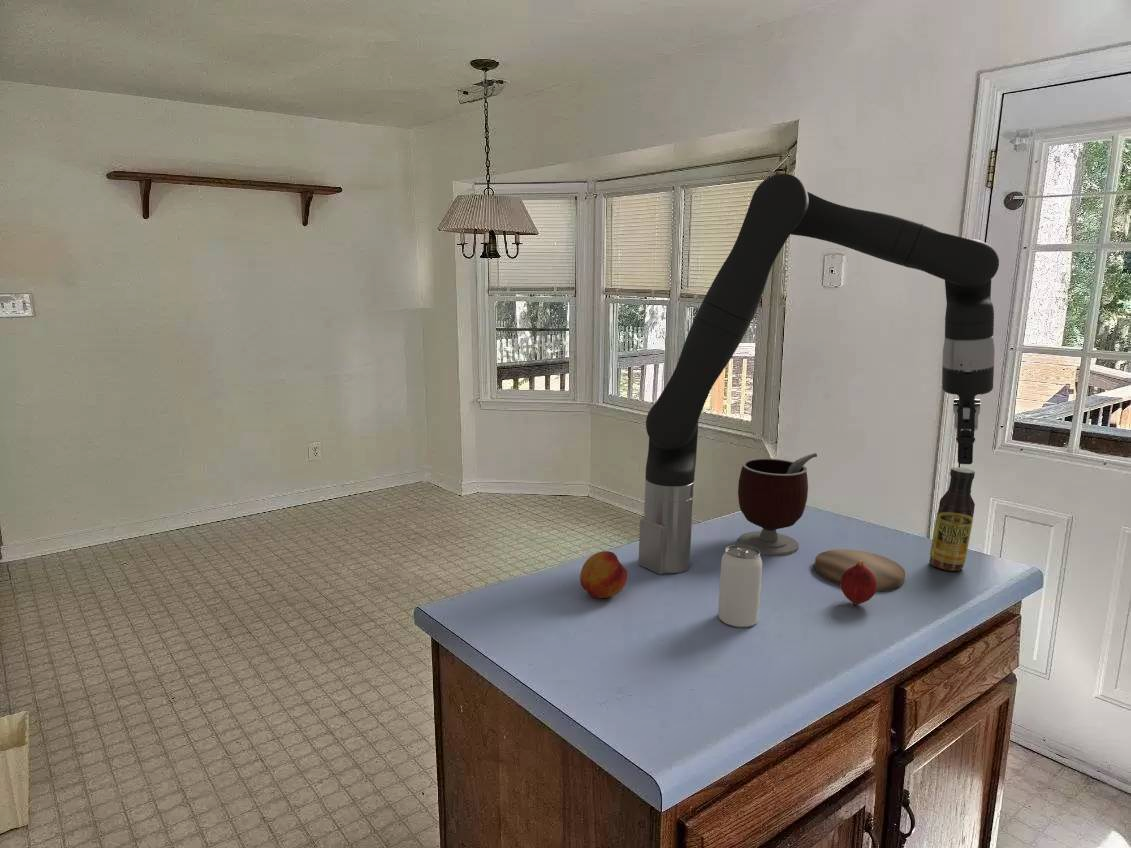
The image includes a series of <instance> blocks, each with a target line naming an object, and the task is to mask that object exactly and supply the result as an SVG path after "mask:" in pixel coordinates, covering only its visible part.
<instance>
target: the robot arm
mask: <svg viewBox="0 0 1131 848" xmlns="http://www.w3.org/2000/svg"><path fill="white" fill-rule="evenodd" d="M739 230H740V231H739V233H738V236H737V238H736V240H735V241H734V242H735V243H734V245H733V247H732V249H731V250H730V252H729V254H728V256H727V257H726V259H725V260H724V262H723V264H722V266H721V267H720V269H719V271H718V272H717V273H716V275H715V278H714V280H713V281H712V283H711V285H710V287H709V289H708V291H707V292H706V294H705V296H704V298H703V300H702V301H701V304H700V306H699V308H698V310H697V312H696V315H695V316H694V319H693V321H692V323H691V326H690V329H689V331H688V333H687V336H686V339H685V341H684V343H683V346H682V349H681V352H680V354H679V355H680V356H679V358H678V360H677V361H678V362H677V363H676V366H675V369H674V370H673V373H672V375H671V376H670V379H669V380H668V382H667V384H666V385H665V387H664V389H663V390H662V392H661V394H660V395H659V396H658V398H657V400H656V402H654V404H653V405H652V407H651V408H650V409H649V411H648V413H647V415H646V418H645V430H646V433H647V436H648V450H647V457H646V458H647V459H646V465H645V481H644V483H645V484H644V504H643V517H641V518H640V519H639V534H638V535H639V539H638V540H639V541H638V542H639V543H638V565H639V566H640V567H643V568H645V569H647V570H650V571H651V572H654V573H656V574H659V575H663V574H677V573H682V572H685V571H687V570H689V568H690V566H691V565H690V564H691V547H692V546H691V544H692V542H691V541H692V527H693V526H692V524H693V505H694V492H695V473H696V464H697V450H698V437H699V435H698V434H699V420H700V417H701V414H702V411H703V410H704V407H705V404H706V402H707V399H708V396H709V394H710V392H711V391H712V389H713V387H714V385H715V383H716V381H717V379H719V377H720V376H721V374H722V373H723V371H724V369H725V368H726V367H727V366H728V364H729V362H730V360H731V359H732V357H733V356H734V354H735V352H736V351H737V349H738V348H739V346H740V344H741V342H742V340H743V338H744V337H745V334H746V333H747V330H748V329H749V327H750V325H751V323H752V321H753V320H754V317H755V315H756V312H757V309H758V308H759V304H760V302H761V299H762V297H763V293H764V290H765V287H766V285H767V282H768V278H769V275H770V273H771V269H772V267H773V266H774V263H775V261H776V259H777V257H778V255H779V254H780V252H781V250H782V248H783V247H784V245H785V243H786V241H787V240H788V239H789V237H790V236H791V235H792V236H799V237H800V236H801V237H807V238H811V239H818V240H821V241H826V242H828V243H832V244H837V245H839V246H842V247H845V248H848V249H851V250H854V251H857V252H860V253H862V254H864V255H868V256H871V257H873V258H876V259H880V260H882V261H885V262H889V263H893V264H896V265H898V266H902V267H906V268H908V269H909V268H910V269H913V270H919V271H922V272H925V273H926V274H929V275H932V276H934V277H936V278H938V279H940V280H941V279H942V280H944V287H945V288H944V289H945V300H946V305H945V306H946V308H945V316H944V341H943V346H942V347H943V348H942V365H941V366H942V368H941V369H942V371H941V373H942V375H941V390H942V391H943V392H944V393H946V394H950V395H956V396H958V398H957V399H955V398H953V405H952V406H953V407H952V408H953V409H952V410H953V411H952V412H953V413H952V414H953V415H954V423H953V424H954V425H953V427H954V430H955V431H956V432H957V433H956V437H955V438H956V439H955V441H956V443H957V464H960V465H972V464H973V461H974V460H973V457H974V456H973V455H974V451H973V450H974V444H975V442H976V437H975V432H976V431H977V430H978V428H979V415H980V412H981V399H977V398H976V396H978V395H985V394H988V393H991V391H993V389H994V378H995V377H994V375H995V374H994V373H995V351H996V350H995V341H994V332H995V331H994V327H995V311H994V309H995V307H994V305H993V301H992V298H991V293H992V279H993V278H994V277H995V276H996V274H997V273H998V270H999V268H1000V267H999V266H1000V259H999V255H998V253H997V251H996V249H995V248H994V247H993V246H992V245H990V244H988V243H986V242H985V241H983V240H980V239H976V238H965V237H961V236H959V235H958V236H957V235H954V234H950V233H946V232H942V231H941V230H940V231H939V230H938V229H936V228H933V227H931V226H929V225H926V224H924V223H920V222H916V221H913V220H910V219H907V218H904V217H900V216H897V215H891V214H887V213H883V212H877V211H876V212H875V211H871V210H866V209H865V210H864V209H859V208H853V207H849V206H845V205H842V204H838V203H835V202H832V201H828V200H826V199H823V198H822V197H819V196H817V195H815V194H813V193H811V192H809V191H808V190H807V188H806V186H805V185H804V183H803V182H802V181H801V180H800V179H799V178H798V177H796V176H795V175H793V174H788V173H776V174H773V175H770V176H769V177H767V178H766V179H764V180H763V181H762V182H761V183H760V184H759V185H758V186H757V187H756V188H755V190H754V192H753V194H752V196H751V200H750V203H749V205H748V208H747V211H746V214H745V217H744V220H743V223H742V225H741V228H740V229H739Z"/></svg>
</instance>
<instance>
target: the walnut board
mask: <svg viewBox="0 0 1131 848" xmlns="http://www.w3.org/2000/svg"><path fill="white" fill-rule="evenodd" d="M859 560H861V561H863V562H864V566H865V567H866V568H868V569H869V570H870V571H871V572H872V573H873V575H874V576H875V579H876V584H877V588H876V592H880V591H881V592H882V591H883V592H885V591H891V590H895V589H898V588H900V587H901V586H903V585H904V583H905V578H906V571H905V569H904V567H903V566H901V565H900V564H899V563H898V562H896V561H894V560H892V559H890V558H887V557H886V556H883V555H879V554H877V553H872V552H867V551H862V550H856V549H832V550H826V551H823V552H820V553H818V554H817V555H815V561H814V569H815V572H816V573H817V574H819V576H820V577H822V578H824V579H825V580H827V581H830V582H831V583H833V584H836V585H839V586H841V585H840V583H841V577H842V575H843V573H844V572H845V571H846V570H847V569H849V568H851V567H853V566H855V565H856V564H857V562H858V561H859Z"/></svg>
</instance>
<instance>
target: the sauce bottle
mask: <svg viewBox="0 0 1131 848" xmlns="http://www.w3.org/2000/svg"><path fill="white" fill-rule="evenodd" d="M949 475H950V480H949V486H948V490H947V491H946V492H945V493H944V494H943V495H942V497H941V498H940V500H939V505H938V508H937V509H938V510H937V513H936V516H935V517H936V518H935V522H934V527H933V533H932V541H931V546H930V553H929V563H930V565H931V566H933V567H935V568H937V569H940V570H943V571H947V572H960V571H961V570H962V569H963V568H964V566H965V563H966V559H967V554H968V549H969V543H970V538H971V533H972V526H973V523H974V522H973V521H974V516H975V515H974V513H975V506H976V504H975V501H974V499H973V497H972V494H971V493H972V485H973V481H974V479H975V475H976V473H975V470H972V469H969V468H966V467H959V466H955V467H952V468H951V469H950V473H949Z"/></svg>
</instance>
